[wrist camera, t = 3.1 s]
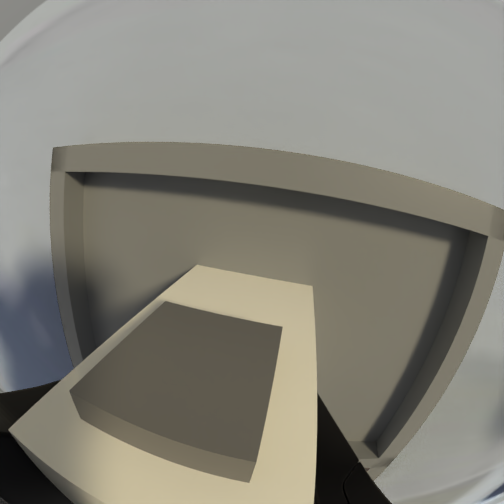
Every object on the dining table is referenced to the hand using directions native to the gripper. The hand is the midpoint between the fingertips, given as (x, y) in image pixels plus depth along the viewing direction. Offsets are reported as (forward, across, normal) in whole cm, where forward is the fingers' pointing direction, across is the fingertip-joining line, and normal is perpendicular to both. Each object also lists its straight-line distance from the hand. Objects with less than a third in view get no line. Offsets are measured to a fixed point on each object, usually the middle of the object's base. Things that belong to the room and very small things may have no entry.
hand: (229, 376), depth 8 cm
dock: (+3, 0, +6) cm, 7 cm away
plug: (+2, 0, 0) cm, 2 cm away
